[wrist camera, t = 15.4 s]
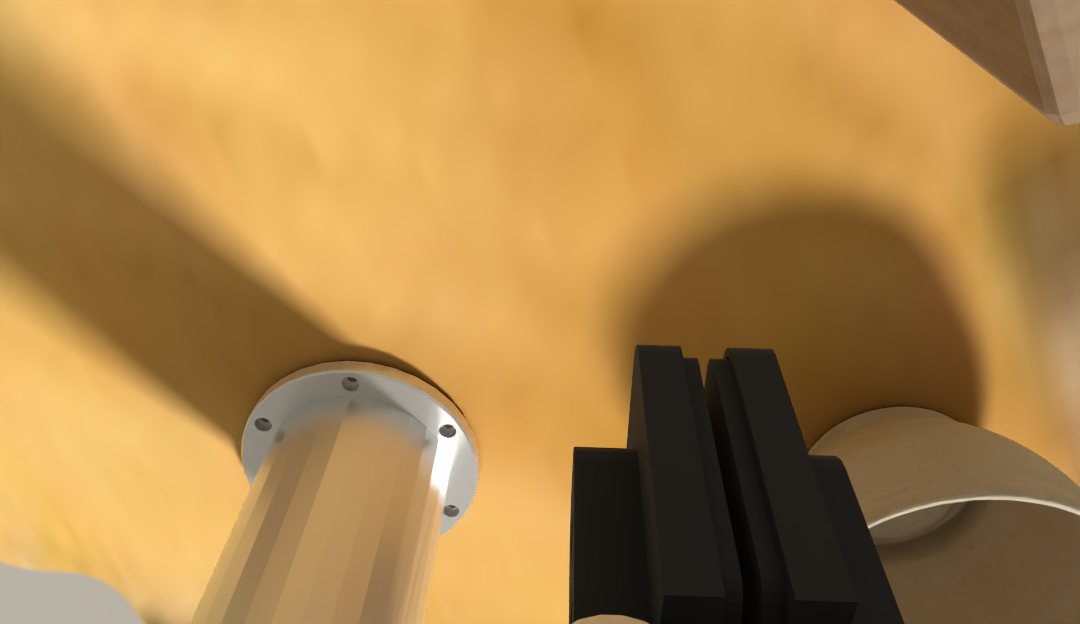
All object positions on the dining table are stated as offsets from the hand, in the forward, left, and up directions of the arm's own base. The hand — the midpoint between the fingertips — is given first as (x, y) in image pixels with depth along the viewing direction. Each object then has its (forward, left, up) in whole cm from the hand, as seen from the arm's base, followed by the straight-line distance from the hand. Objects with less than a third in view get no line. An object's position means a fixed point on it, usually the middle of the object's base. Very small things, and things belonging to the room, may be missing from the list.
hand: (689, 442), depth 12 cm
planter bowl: (-25, -16, -29) cm, 42 cm away
